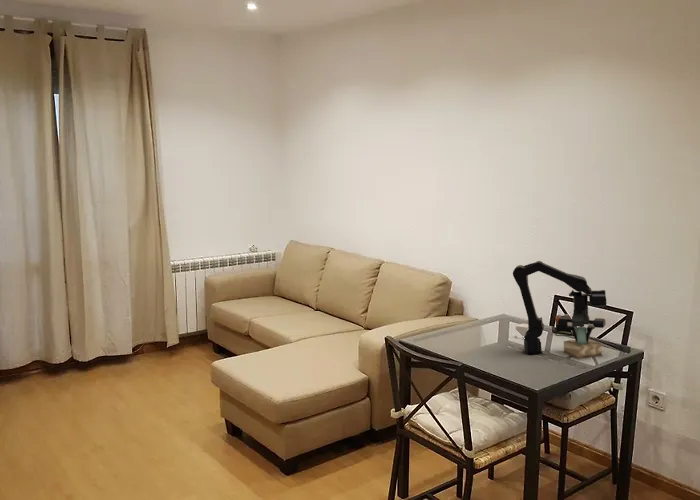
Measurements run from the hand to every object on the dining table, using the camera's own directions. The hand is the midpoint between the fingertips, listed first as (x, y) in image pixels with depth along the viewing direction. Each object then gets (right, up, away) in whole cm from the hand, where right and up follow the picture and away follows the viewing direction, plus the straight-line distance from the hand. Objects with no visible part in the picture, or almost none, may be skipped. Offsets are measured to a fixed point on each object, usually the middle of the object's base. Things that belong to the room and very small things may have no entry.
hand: (582, 341), depth 265 cm
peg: (0, -4, 0) cm, 4 cm away
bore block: (0, -5, +1) cm, 6 cm away
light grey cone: (-15, -3, +34) cm, 38 cm away
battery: (+4, -2, +33) cm, 34 cm away
